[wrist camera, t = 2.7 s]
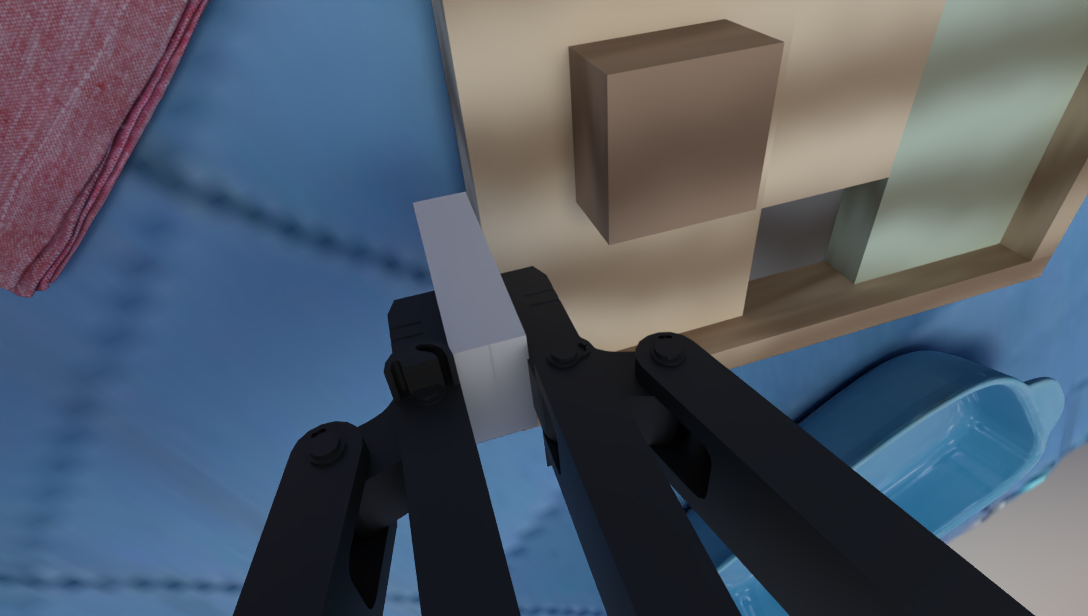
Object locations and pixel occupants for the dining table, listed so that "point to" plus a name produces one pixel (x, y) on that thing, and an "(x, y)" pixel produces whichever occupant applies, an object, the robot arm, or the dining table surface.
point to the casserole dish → (920, 446)
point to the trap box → (791, 164)
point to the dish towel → (74, 116)
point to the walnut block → (671, 126)
